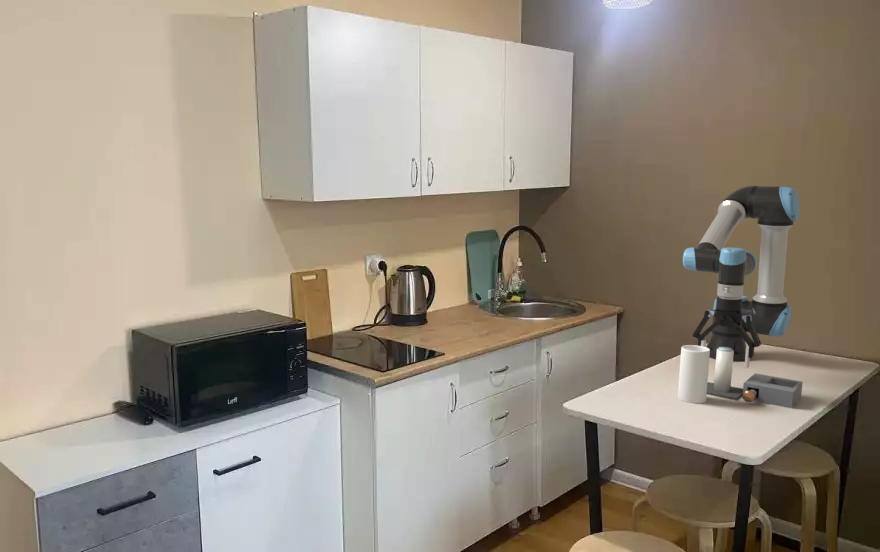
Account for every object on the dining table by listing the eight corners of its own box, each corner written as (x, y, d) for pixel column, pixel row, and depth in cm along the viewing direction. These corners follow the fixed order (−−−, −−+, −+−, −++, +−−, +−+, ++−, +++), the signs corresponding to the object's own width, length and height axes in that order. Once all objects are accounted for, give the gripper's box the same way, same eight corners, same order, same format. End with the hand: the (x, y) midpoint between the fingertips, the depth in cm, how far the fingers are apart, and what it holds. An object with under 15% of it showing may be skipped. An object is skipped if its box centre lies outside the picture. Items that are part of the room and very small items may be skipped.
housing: (753, 388, 234) (755, 373, 234) (801, 397, 226) (802, 381, 225) (742, 398, 223) (743, 382, 222) (791, 408, 215) (793, 392, 214)
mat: (708, 383, 238) (708, 382, 238) (746, 391, 231) (746, 389, 231) (696, 392, 229) (696, 390, 228) (736, 400, 221) (736, 398, 221)
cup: (702, 395, 225) (705, 345, 223) (709, 404, 217) (713, 352, 215) (675, 394, 226) (678, 344, 224) (681, 402, 218) (684, 350, 216)
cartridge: (710, 387, 232) (714, 346, 230) (725, 387, 232) (728, 346, 230) (718, 392, 227) (722, 350, 225) (733, 392, 228) (737, 350, 226)
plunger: (750, 393, 227) (751, 382, 226) (762, 395, 225) (763, 384, 224) (741, 401, 218) (742, 390, 218) (753, 403, 216) (754, 392, 216)
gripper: (685, 294, 230) (680, 358, 233) (769, 304, 215) (763, 373, 218) (693, 291, 236) (688, 354, 239) (775, 300, 221) (769, 368, 224)
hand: (724, 363), depth 228 cm, fingers open, 13 cm apart
